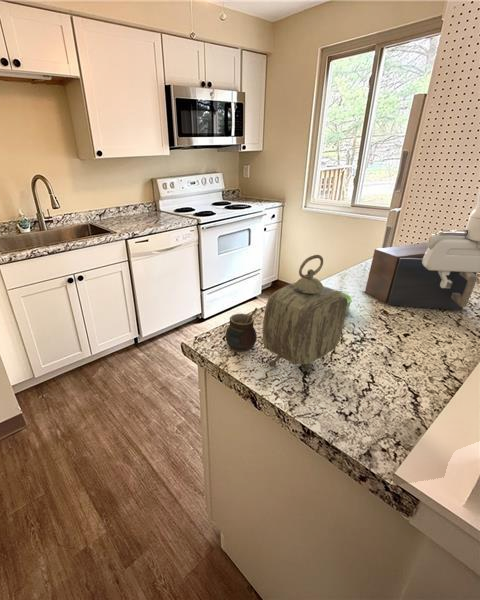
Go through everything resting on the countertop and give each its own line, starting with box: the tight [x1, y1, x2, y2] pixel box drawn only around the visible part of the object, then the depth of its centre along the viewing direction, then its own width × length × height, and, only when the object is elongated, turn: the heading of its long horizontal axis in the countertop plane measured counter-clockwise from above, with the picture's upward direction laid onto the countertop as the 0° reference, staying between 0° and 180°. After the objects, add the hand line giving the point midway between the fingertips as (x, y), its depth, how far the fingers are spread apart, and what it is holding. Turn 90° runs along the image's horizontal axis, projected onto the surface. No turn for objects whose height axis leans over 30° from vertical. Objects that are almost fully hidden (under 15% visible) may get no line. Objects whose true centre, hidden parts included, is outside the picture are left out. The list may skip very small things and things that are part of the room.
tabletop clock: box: [262, 254, 347, 370], centre depth 63 cm, size 14×9×25 cm, turn 120°
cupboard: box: [364, 242, 428, 304], centre depth 90 cm, size 8×16×14 cm, turn 96°
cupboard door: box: [386, 258, 479, 312], centre depth 80 cm, size 6×16×14 cm, turn 67°
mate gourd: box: [224, 307, 259, 353], centre depth 74 cm, size 7×8×10 cm
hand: (470, 289), depth 72 cm, fingers open, 8 cm apart
